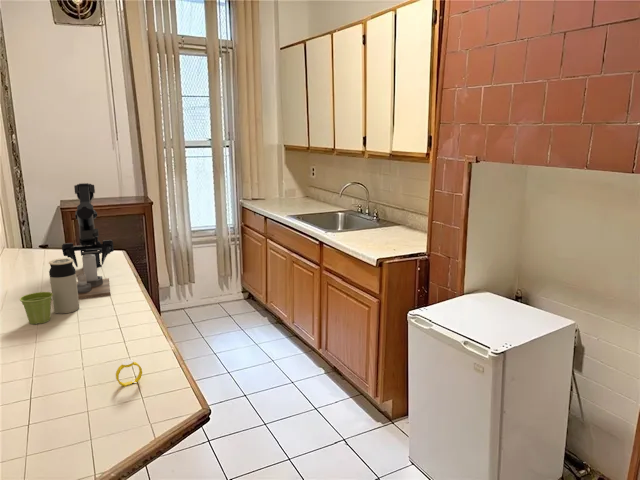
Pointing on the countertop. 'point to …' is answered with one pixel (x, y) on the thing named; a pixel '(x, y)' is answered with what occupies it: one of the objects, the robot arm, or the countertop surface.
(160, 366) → the countertop surface
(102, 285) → the pin board
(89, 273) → the beverage can
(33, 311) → the plant pot
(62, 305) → the travel mug
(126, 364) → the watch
